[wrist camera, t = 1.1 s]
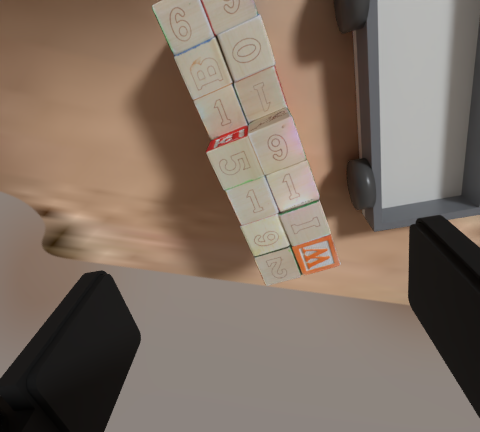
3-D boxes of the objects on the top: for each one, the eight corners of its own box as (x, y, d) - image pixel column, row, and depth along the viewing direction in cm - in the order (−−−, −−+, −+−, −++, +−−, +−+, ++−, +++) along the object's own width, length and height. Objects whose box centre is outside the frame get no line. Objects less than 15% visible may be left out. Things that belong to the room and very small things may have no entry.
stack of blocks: (181, 17, 28) (132, -6, 17) (247, -15, 26) (241, -64, 15) (262, 218, 36) (265, 289, 25) (315, 201, 35) (342, 268, 24)
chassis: (328, -71, 24) (344, -99, 20) (518, -128, 22) (583, -173, 18) (349, 215, 36) (363, 239, 31) (477, 194, 34) (510, 215, 29)
